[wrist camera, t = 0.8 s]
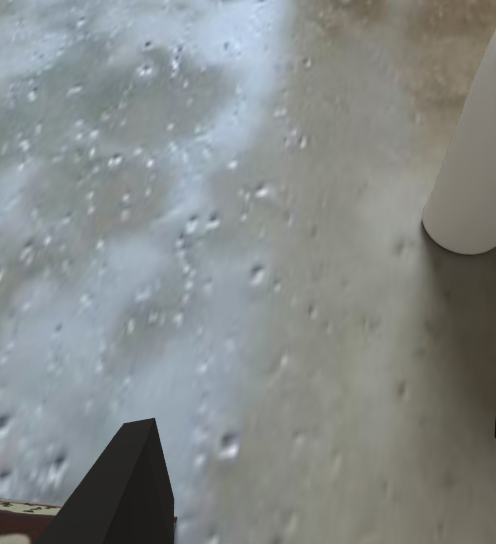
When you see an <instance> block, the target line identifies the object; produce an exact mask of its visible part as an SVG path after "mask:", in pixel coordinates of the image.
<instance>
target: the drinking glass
mask: <svg viewBox="0 0 496 544" xmlns="http://www.w3.org/2000/svg"><path fill="white" fill-rule="evenodd" d="M422 220H423V224H424V227H425V229H426V231H427V233H428V234H429V236H430V237H431V238H432V239H433V240H434V241H435V242H436V243H437V244H439V245H440V246H442V247H443V248H445V249H447V250H450V251H452V252H455V253H459V254H467V255H472V254H480V253H484V252H487V251H489V250H491V249H493V248H494V247H496V28H495V31H494V33H493V35H492V37H491V39H490V41H489V43H488V45H487V48H486V50H485V52H484V54H483V56H482V59H481V61H480V63H479V66H478V68H477V71H476V73H475V76H474V78H473V81H472V83H471V86H470V89H469V91H468V94H467V97H466V100H465V102H464V105H463V108H462V111H461V113H460V116H459V119H458V122H457V124H456V127H455V130H454V133H453V135H452V138H451V141H450V144H449V146H448V149H447V152H446V154H445V157H444V160H443V163H442V165H441V168H440V171H439V173H438V176H437V179H436V181H435V184H434V186H433V189H432V191H431V193H430V195H429V197H428V199H427V201H426V203H425V206H424V208H423V213H422Z"/></svg>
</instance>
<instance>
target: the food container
mask: <svg viewBox="0 0 496 544" xmlns="http://www.w3.org/2000/svg"><path fill="white" fill-rule="evenodd" d="M62 506H63V505H60V504H51V503H41V502H31V501H22V500H12V499H3V498H0V544H33V543H34V542H35V540H36V539H37V538H38V537H39V536H40V534H41V533H42V532H43V531H44V529H45V528H46V527H47V526H48V525H49V523H50V522H51V521H52V519H53V518H54V517H55V516H56V514H57V513H58V512H59V510H60V509H61V508H62ZM176 520H177V517H175V516H174V530H175V525H176Z"/></svg>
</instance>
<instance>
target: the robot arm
mask: <svg viewBox="0 0 496 544" xmlns="http://www.w3.org/2000/svg"><path fill="white" fill-rule="evenodd" d="M495 438H496V421H495ZM33 544H174V497H173V492H172V488H171V484H170V480H169V475H168V471H167V467H166V463H165V459H164V454H163V450H162V446H161V442H160V438H159V433H158V429H157V425H156V421H155V418H151V419H145V420H140V421H134V422H129V423H124V424H123V425H122V427H121V428H120V429H119V431H118V432H117V433H116V435H115V436H114V437H113V439H112V440H111V441H110V443H109V444H108V445H107V447H106V448H105V450H104V451H103V452H102V454H101V455H100V457H99V458H98V459H97V461H96V462H95V464H94V465H93V466H92V468H91V469H90V470H89V472H88V473H87V474H86V476H85V477H84V479H83V480H82V481H81V483H80V484H79V485H78V487H77V488H76V489H75V491H74V492H73V493H72V495H71V496H70V497H69V498H68V500H67V501H66V502H65V504H64V505H63V506H62V508H61V509H60V510H59V512H58V513H57V514H56V516H55V517H54V518H53V519H52V521H51V522H50V523H49V525H48V526H47V527H46V528H45V529H44V531H43V532H42V533H41V534H40V536H39V537H38V538H37V539H36V540H35V542H34V543H33Z"/></svg>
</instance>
